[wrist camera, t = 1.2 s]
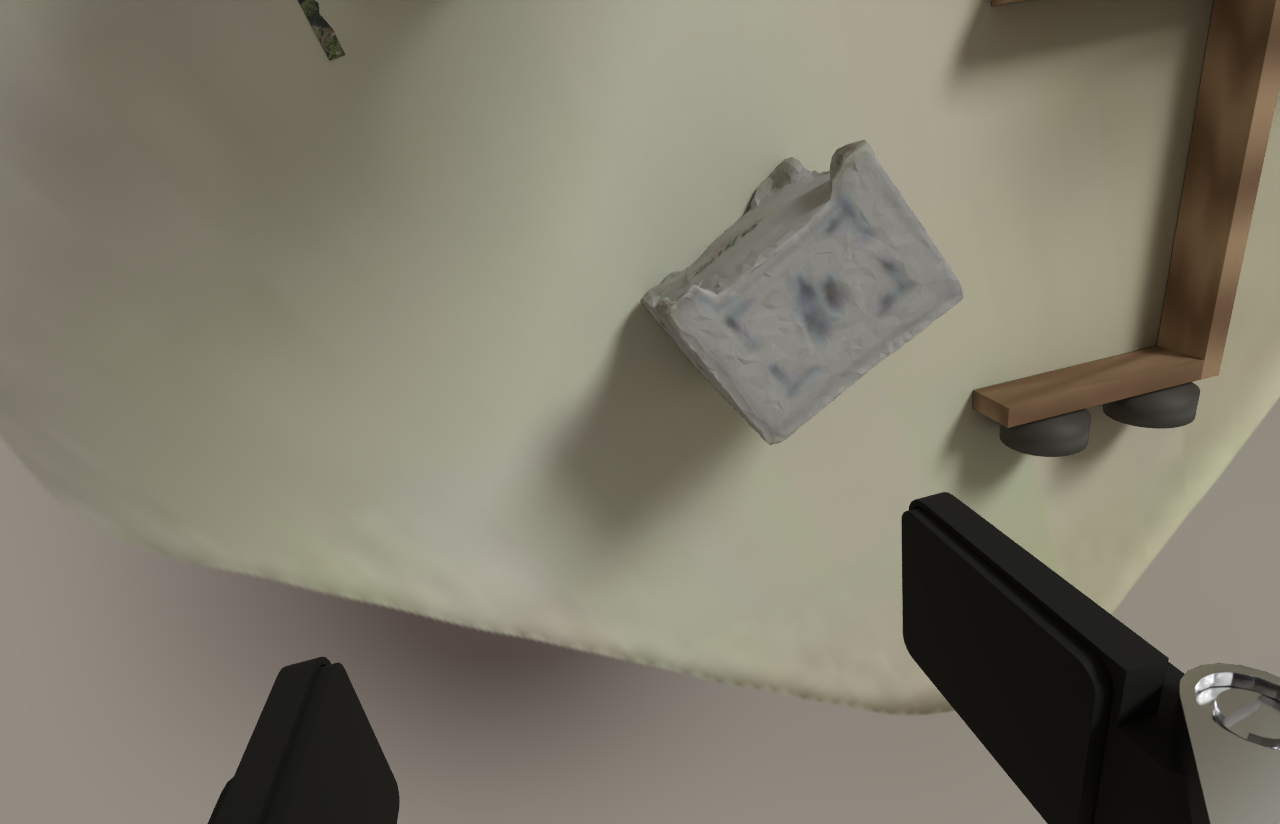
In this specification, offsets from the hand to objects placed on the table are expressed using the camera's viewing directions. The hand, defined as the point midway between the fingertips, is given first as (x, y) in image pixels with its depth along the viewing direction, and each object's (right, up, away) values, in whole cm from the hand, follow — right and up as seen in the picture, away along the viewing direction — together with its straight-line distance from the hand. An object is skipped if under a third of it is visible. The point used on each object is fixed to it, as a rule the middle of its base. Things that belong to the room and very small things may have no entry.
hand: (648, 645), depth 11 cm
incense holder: (+5, +11, +23) cm, 26 cm away
